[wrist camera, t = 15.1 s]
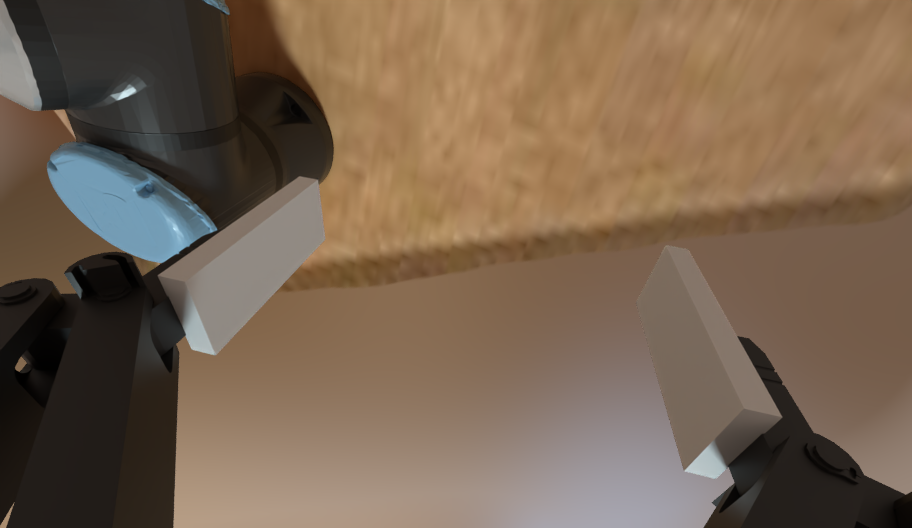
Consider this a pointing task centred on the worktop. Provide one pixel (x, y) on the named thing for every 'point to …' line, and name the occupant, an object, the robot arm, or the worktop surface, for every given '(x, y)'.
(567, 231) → the worktop surface
